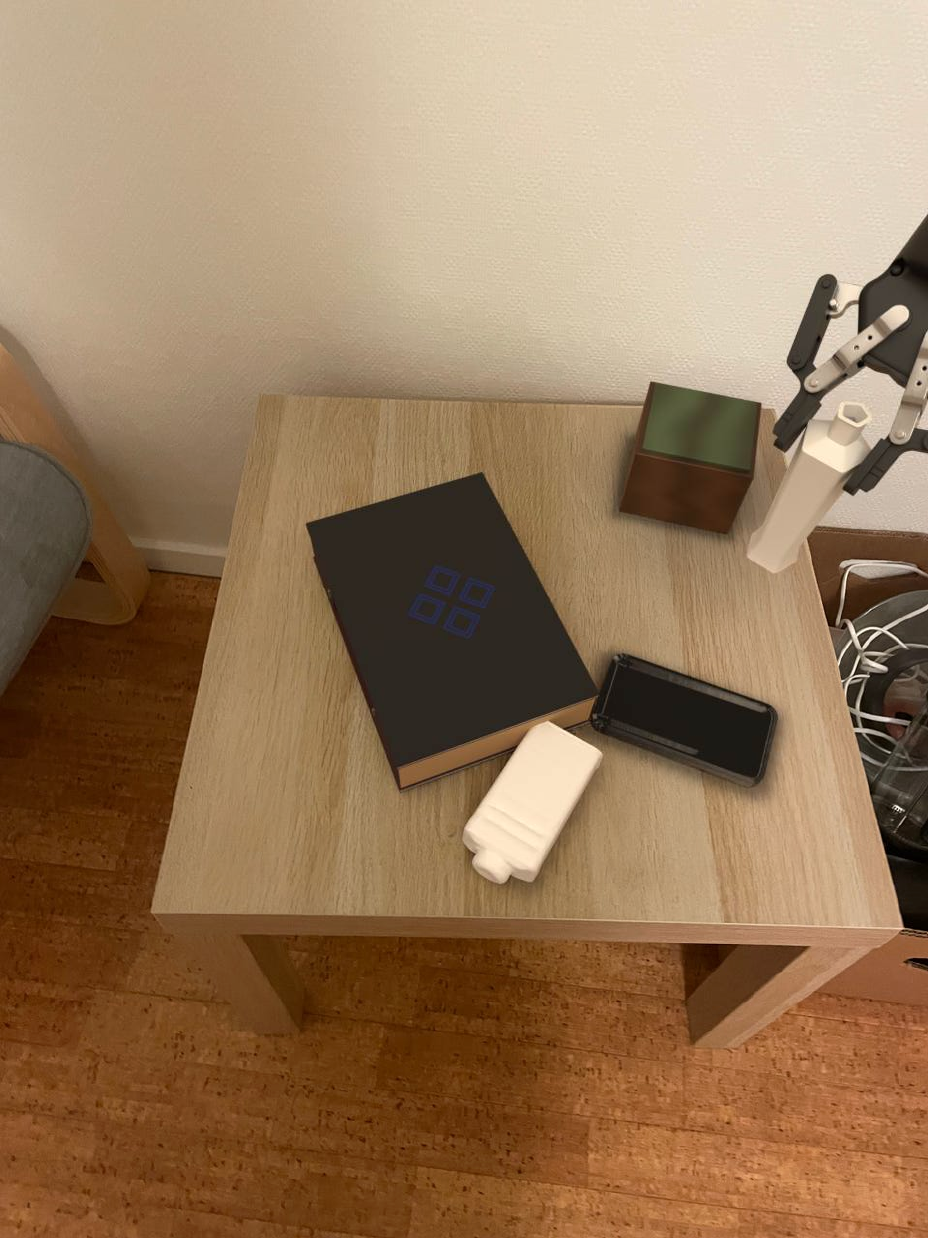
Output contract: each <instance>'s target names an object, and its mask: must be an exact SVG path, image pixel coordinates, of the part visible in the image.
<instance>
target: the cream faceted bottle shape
mask: <svg viewBox="0 0 928 1238" xmlns="http://www.w3.org/2000/svg"><path fill="white" fill-rule="evenodd" d="M873 419H874V417H873V415H872V414H871V412H870V411H869V409H868V408H867V406H866V405H865V403H862V402H859V401H841V402H839V406H838V410H837V412H836V414H835V416H834V418H833V419H832V420H830V419H829V420H828V419H814V418H812V419H811V420H809V422H808V424H807V426H806V428H805V429H804V430H803V432H802V434H801V437H800V440H799V442H798V444H797V447H796V448H795V451H794V453H793V455H792V457H791V460H790V462H789V464H788V466H787V469H786V472H785V473H784V476H783V478H782V480H781V483H780V484H779V487H778V489H777V490H776V494H775V496H774V498H773V501H772V503H771V505H770V507H769V510H768V511H767V514H766V516H765V519H764V520H763V523H762V525H761V526H760V527H758V528H757V529H756V530H755V531H754V532H752V533H751V536H750V539H749V544H748V548H747V551H746V558H747V559H748V560H751V561H752V562H754V563H756V564H757V565H758V566H760V567H762V568H763V569H765V570H767V571H768V572H770V573H772V574H778V573H779V572H781V571H782V570H784V569H785V568H787V567H789V566H791V565H792V564H794V563H795V562H797V561H798V556H799V551H800V547H801V546H802V544H804V542H805V541H806V540H807V538H808V537H809V536H810V535H811V533H812V532H813V531H814V530H815V529H816V527H817V526H818V524H820V523H821V521H822V520H823V518H824V517H825V516H826V515H827V514H828V512H829V511H830V510H831V509H832V507H833V506H834V505H835V503H836V502H837V501H838V500H839V498H840V497H841V496H842V495H843V494H844V492H845V491H844V490H843V489H842V488H843V486H844V485H845V483H846V482H847V481H848V479H849V478H850V477H851V476H852V474H853V473H854V472H855V470H856V469H857V468H858V467H859V465H860V464H861V463H862V462H863V460H864V459H865V458H866V456H867V455H868V454H869V453H870V451H871V450H872V448H871V446H870V445H869V444H868V442H867V441H866V438H865V437H864V436H863V434H862V432H863V431H864V430H865V428H866V426H867V425H868V424H869V423H870V422H872V421H873Z"/></svg>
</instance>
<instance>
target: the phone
mask: <svg viewBox="0 0 928 1238" xmlns="http://www.w3.org/2000/svg"><path fill="white" fill-rule="evenodd" d="M599 693H600V695H599V697H597V698H596V702H595V705H594V707H593V710H592V712H591V715H590V724H591V726H592V728H593V729H594V730H595V731H597V732H598V733H601V734H603V735H606V736H607V737H611V738H614V739H617V740H618V741H621V742H625V743H626V744H630V745H631V746H635V747H636V748H637V747H638V748H640V749H643V750H645V751H648V752H651V753H654V754H657V755H659V756H661V757H665V758H667V759H670V760H672V761H675V762H678V763H681V764H684V765H686V766H688V767H690V768H694V769H696V770H699V771H702V772H705V773H707V774H710V775H712V776H715V777H718V778H721V779H723V780H726V781H728V782H731V783H734V784H735V785H739V786H742V787H745V788H754V787H756V786H758V785H759V784H760V783H761V781H762V780H763V779H764V778H765V776H766V772H767V767H768V763H769V759H770V754H771V751H772V746H773V742H774V737H775V733H776V729H777V725H778V719H779V715H778V712H777V710H776V709H775V707H773V705H771V704H770V703H768V702H764V701H761V700H759V699H756V698H752V697H751V696H747V695H744V694H742V693H739V692H736V691H733V690H730V689H727V688H725V687H722V686H719V685H716V684H713V683H711V682H708V681H705V680H702V679H699V678H696V677H693V676H691V675H688V674H685V673H682V672H680V671H676V670H674V669H670V668H668V667H666V666H662V665H659V664H658V663H654V662H651V661H649V660H646V659H643V658H640V657H637V656H634V655H632V654H629V653H624V652H621V653H618V654H615V655H614V656H613V657H612V659H611V661H610V664H609V666H608V669H607V672H606V674H605V677H604V680H603V683H602V686H601V688H600V691H599Z"/></svg>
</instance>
